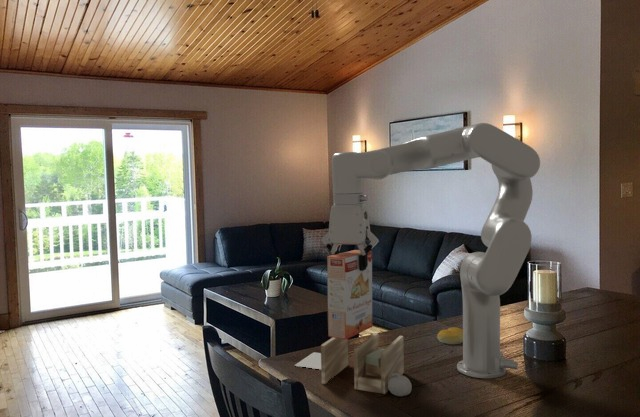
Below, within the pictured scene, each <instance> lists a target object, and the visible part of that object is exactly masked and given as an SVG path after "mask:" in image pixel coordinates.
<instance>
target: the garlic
mask: <svg viewBox="0 0 640 417" xmlns="http://www.w3.org/2000/svg"><path fill="white" fill-rule="evenodd" d="M395 375H396V376H395ZM392 376H393V377H391V378H390V380H389V382H388V389H389V390H388V391H389V392H390V393H391V394H392V395H394V396H396V397H405V396H408V395H410V393H411V392H412V389H413V388H412V387H413V385H412V383H411V381H410V379H409V378H408V377H407V376H406V375H403V374H402V375H399V374H398V373H394V374H392Z"/></svg>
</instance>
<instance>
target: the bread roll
mask: <svg viewBox="0 0 640 417" xmlns="http://www.w3.org/2000/svg"><path fill="white" fill-rule="evenodd" d="M436 338H437V340H438V342H439V343H442V344H445V345H460V344H463V328H462V329H461V328H459V327H456V326H453V327H448V328H447V329H442V330H439V332H438V333H437V335H436Z"/></svg>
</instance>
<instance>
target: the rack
mask: <svg viewBox="0 0 640 417" xmlns="http://www.w3.org/2000/svg"><path fill="white" fill-rule="evenodd" d="M348 340H349V339H347V340H345V339H339V338H334V337H330V339H327V341H325V342H323V343H322V344H321V345H320V353H321V370H320V372H321V384H322V385H326V384H327V383H329V382H330V381H331V380H332V379H333V378H335V377H336V376H337V375H338V374H339V373H341V372H342V371H343V370H344V369H345V368H347V367H348V366H349V346H348V345H349V344H348V342H349V341H348ZM379 349H380V348H379V333H378V332H374V333H372V334H371V335H370V336H368V338H366V339H365V340H363V341H362V342H361V343H360V344H359V345H358V346H356V347H355V348H354V349H353V376H354V378H353V379H354V383H353V384H354V390H359V391H365V392H371V393H377V394H383V395H386V394H387V393H388V391H390V390H389V389H388V382H389V380H390V378H391V377H393V376H392V374H394V373H398V374H399V375H403V374H404V373H405V372H404V371H405V367H404V366H405V365H404V364H405V362H404V361H405V360H404V352H405V351H404V336H403V335H399V336H398V337H396V338H395V339H394V340H393V341H392V342H391V343H390V344H389V345H388V346H387V347H386V348H383V349H384V350H383V351H382V352H381V380H378V379H371V378H365V377H364V375H365V374H366V370H365V365H366V362H365V356H366V355H368V354H370V353H372V352H374V351H376V350H379ZM334 376H335V377H334ZM395 376H396V375H395ZM331 378H332V379H331ZM330 379H331V380H330ZM329 380H330V381H329ZM328 381H329V382H328Z"/></svg>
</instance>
